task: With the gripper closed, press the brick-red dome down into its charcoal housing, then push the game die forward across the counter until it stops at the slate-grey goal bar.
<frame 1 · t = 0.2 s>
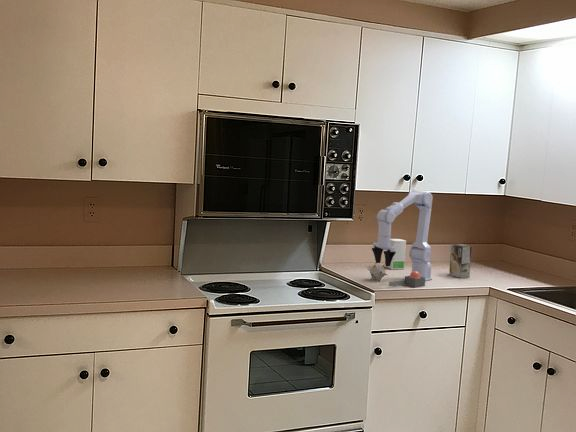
hand: (382, 264, 305), 10 cm above the counter, tool pointing down, fingers open, 7 cm apart
dome housing: (414, 285, 309), on the counter
goal bar: (396, 285, 306), on the counter
game die: (377, 280, 317), on the counter
dome: (415, 276, 308), point 4 cm above the counter, slide at 0.0 cm
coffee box: (459, 276, 335), on the counter
skincare box: (395, 268, 348), on the counter
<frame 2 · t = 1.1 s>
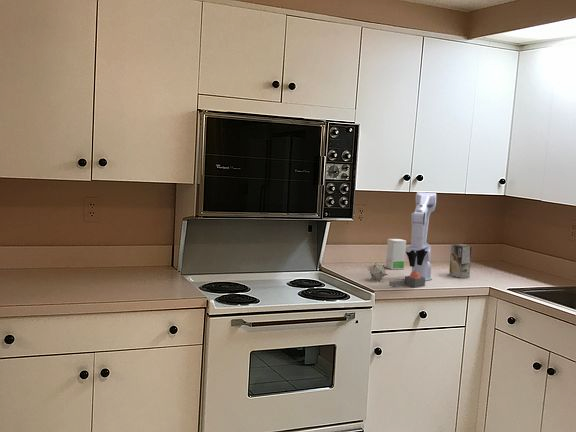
hand: (415, 265, 307), 9 cm above the counter, tool pointing down, fingers open, 5 cm apart
nothing on the counter moved.
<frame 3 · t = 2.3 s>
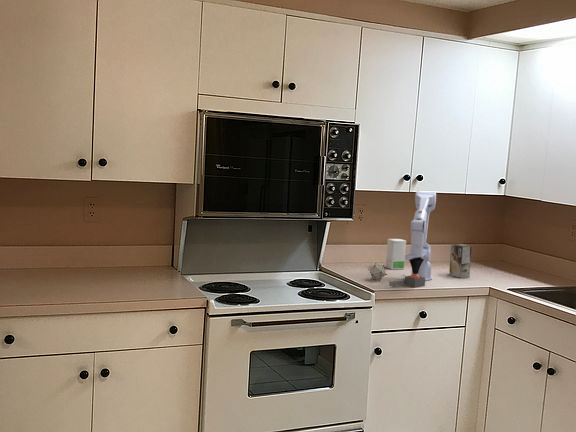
hand: (415, 273, 308), 6 cm above the counter, tool pointing down, fingers closed, pressing on dome
dome: (414, 278, 308), point 3 cm above the counter, slide at 1.1 cm, touching gripper
everything else where it was.
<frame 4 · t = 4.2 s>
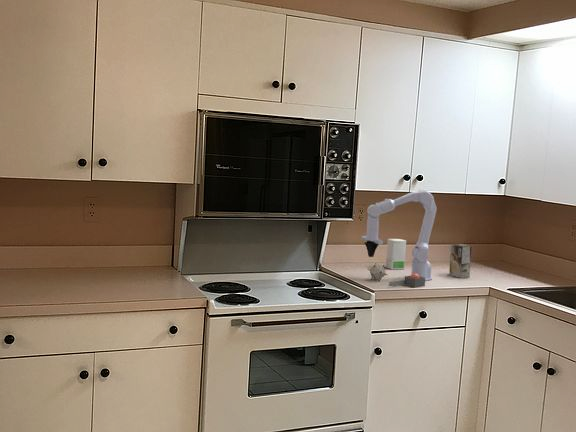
hand: (370, 256, 321), 10 cm above the counter, tool pointing down, fingers closed
dome: (414, 278, 308), point 3 cm above the counter, slide at 1.1 cm
everything else where it was.
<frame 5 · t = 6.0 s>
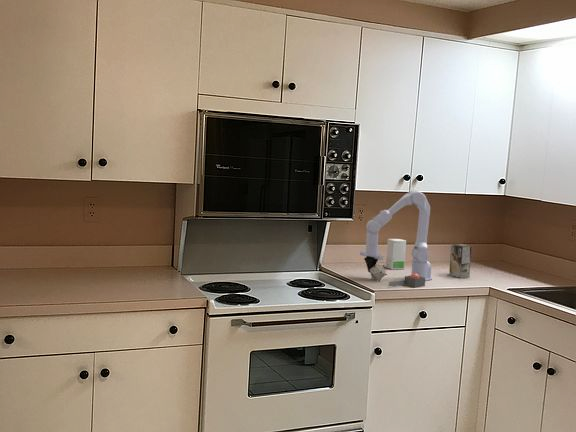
hand: (370, 272, 320), 3 cm above the counter, tool pointing down, fingers closed
game die: (377, 280, 317), on the counter, touching gripper
everything else where it was.
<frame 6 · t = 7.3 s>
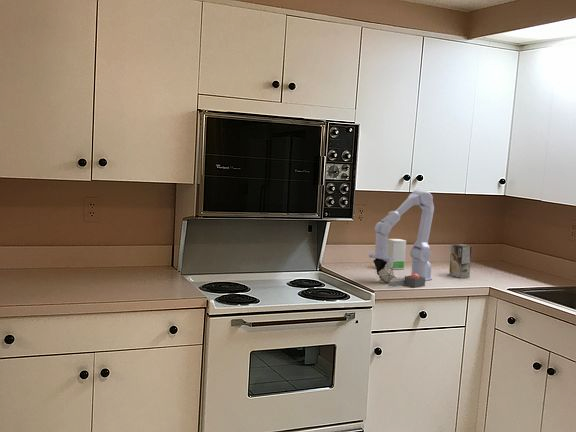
hand: (379, 274, 315), 3 cm above the counter, tool pointing down, fingers closed
game die: (385, 283, 312), on the counter, touching gripper
everything else where it was.
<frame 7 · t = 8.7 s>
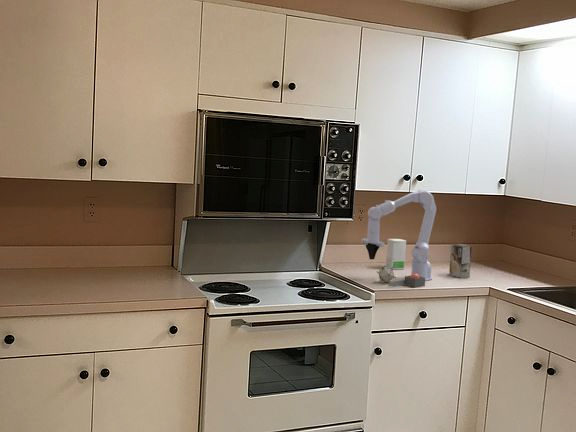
hand: (371, 259, 320), 9 cm above the counter, tool pointing down, fingers closed
game die: (385, 283, 312), on the counter
everything else where it was.
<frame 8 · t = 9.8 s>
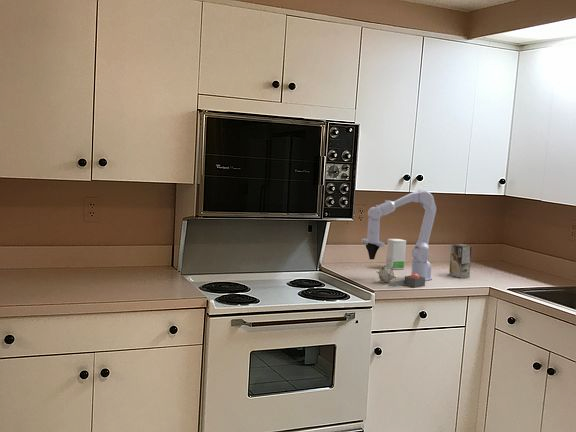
hand: (371, 259, 320), 9 cm above the counter, tool pointing down, fingers closed
nothing on the counter moved.
at the end: dome slide at 1.1 cm; game die inside the target area (1.8 cm from its centre), on the counter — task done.
